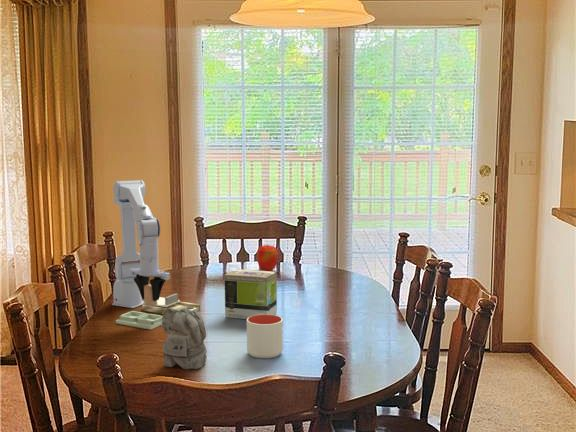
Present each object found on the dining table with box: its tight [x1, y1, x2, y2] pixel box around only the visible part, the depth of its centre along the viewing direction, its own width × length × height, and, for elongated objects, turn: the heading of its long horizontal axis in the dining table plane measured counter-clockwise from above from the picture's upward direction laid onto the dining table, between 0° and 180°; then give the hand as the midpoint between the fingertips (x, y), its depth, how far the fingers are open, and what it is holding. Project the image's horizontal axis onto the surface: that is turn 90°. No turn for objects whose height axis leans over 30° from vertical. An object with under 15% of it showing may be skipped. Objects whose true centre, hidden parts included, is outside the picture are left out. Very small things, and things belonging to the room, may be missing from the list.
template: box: [141, 301, 201, 315], centre depth 236 cm, size 17×10×2 cm, turn 63°
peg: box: [143, 283, 157, 306], centre depth 219 cm, size 4×4×6 cm
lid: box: [143, 293, 181, 308], centre depth 237 cm, size 10×8×3 cm
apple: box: [256, 244, 279, 271], centre depth 294 cm, size 9×9×12 cm
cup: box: [246, 314, 284, 359], centre depth 192 cm, size 10×10×10 cm
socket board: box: [115, 310, 163, 331], centre depth 221 cm, size 14×9×2 cm, turn 63°
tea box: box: [224, 268, 278, 320], centre depth 228 cm, size 15×10×15 cm
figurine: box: [161, 308, 208, 370], centre depth 184 cm, size 10×11×15 cm
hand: (150, 299), depth 219 cm, fingers closed on peg, 4 cm apart
